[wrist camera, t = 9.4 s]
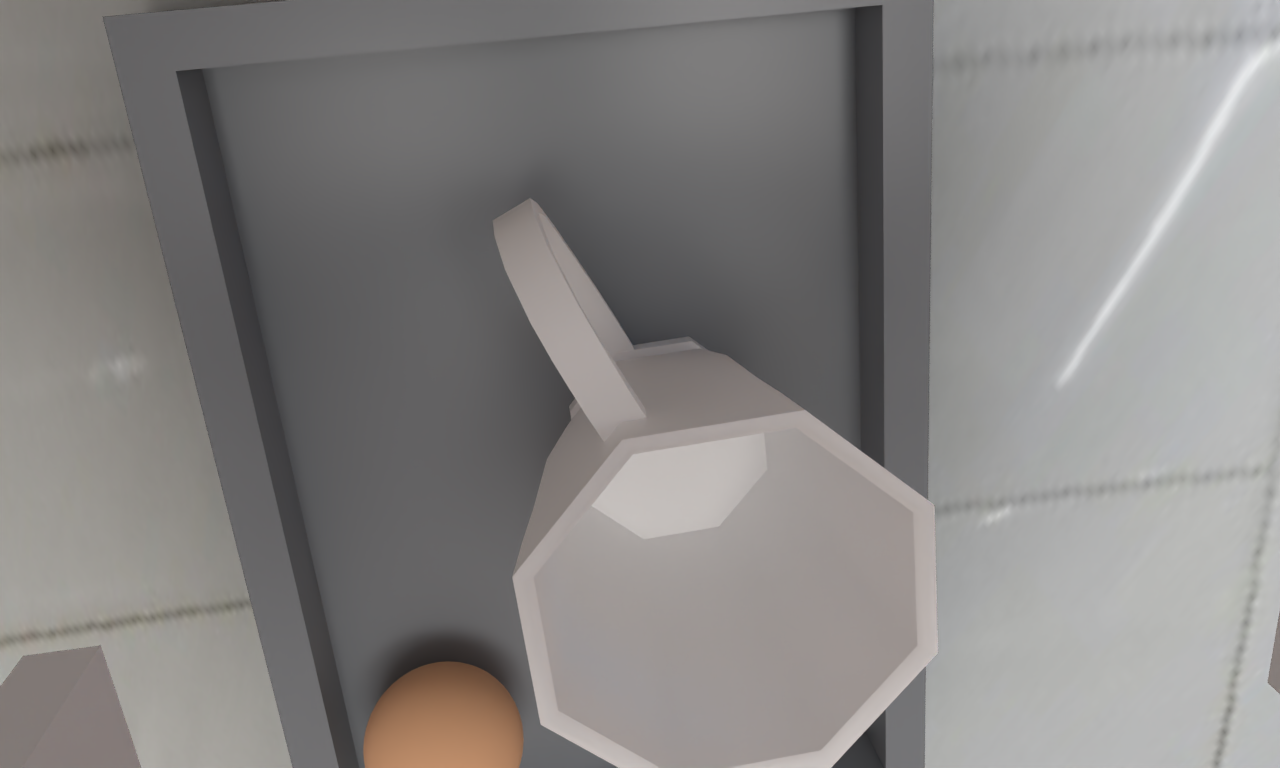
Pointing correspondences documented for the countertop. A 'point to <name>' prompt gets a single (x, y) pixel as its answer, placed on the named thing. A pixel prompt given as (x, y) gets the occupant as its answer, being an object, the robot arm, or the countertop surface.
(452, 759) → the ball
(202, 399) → the tray
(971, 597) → the countertop surface
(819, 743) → the cup
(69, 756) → the robot arm
